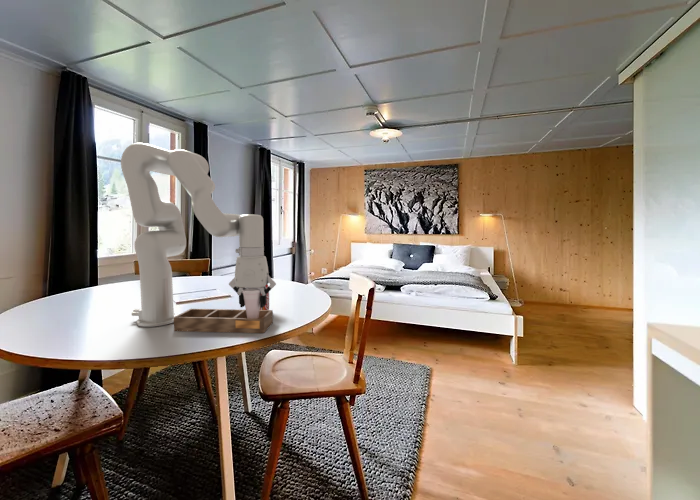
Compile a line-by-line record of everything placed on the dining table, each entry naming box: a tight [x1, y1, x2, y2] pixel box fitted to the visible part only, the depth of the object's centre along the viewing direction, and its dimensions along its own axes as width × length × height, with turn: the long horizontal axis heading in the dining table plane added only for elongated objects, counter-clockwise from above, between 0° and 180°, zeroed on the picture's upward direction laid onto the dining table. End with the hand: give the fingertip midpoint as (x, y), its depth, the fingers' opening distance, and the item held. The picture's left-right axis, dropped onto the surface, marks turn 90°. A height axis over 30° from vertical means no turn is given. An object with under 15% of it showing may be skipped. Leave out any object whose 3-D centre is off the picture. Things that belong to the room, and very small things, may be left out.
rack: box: [173, 308, 274, 334], centre depth 105 cm, size 29×10×4 cm, turn 88°
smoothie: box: [242, 288, 261, 318], centre depth 104 cm, size 6×6×14 cm
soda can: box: [259, 283, 270, 310], centre depth 120 cm, size 7×7×12 cm
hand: (252, 305), depth 104 cm, fingers closed on smoothie, 6 cm apart
